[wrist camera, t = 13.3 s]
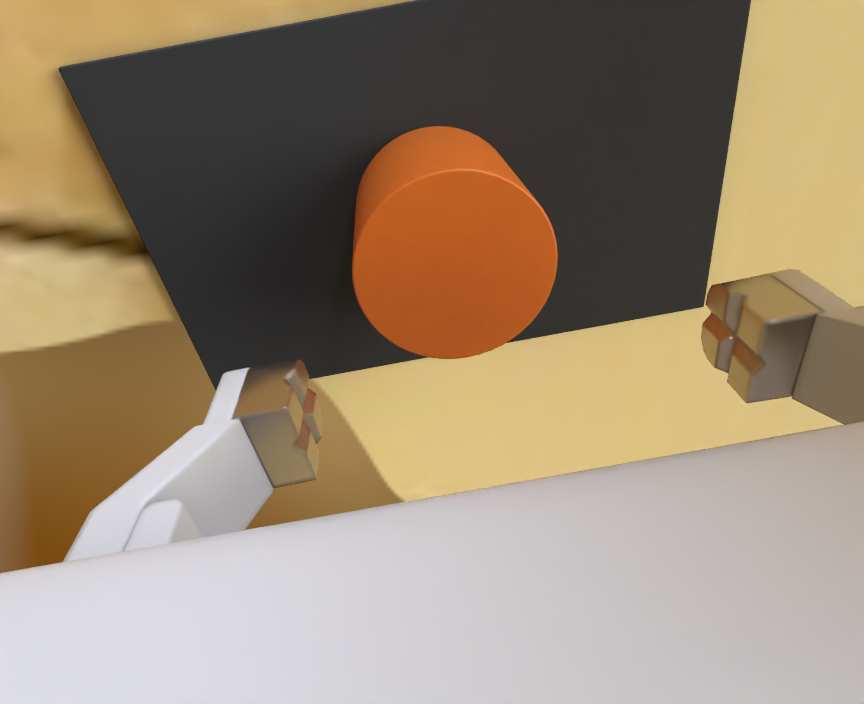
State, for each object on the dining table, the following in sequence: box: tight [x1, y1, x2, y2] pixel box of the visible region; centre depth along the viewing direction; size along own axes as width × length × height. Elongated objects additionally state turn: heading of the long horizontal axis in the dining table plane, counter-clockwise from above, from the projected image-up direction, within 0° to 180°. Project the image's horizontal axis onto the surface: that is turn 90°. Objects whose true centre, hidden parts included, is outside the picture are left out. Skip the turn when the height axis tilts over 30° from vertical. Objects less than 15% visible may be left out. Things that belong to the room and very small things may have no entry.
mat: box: [59, 0, 751, 390], centre depth 19 cm, size 20×12×1 cm, turn 99°
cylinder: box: [352, 126, 558, 359], centre depth 16 cm, size 6×6×5 cm
